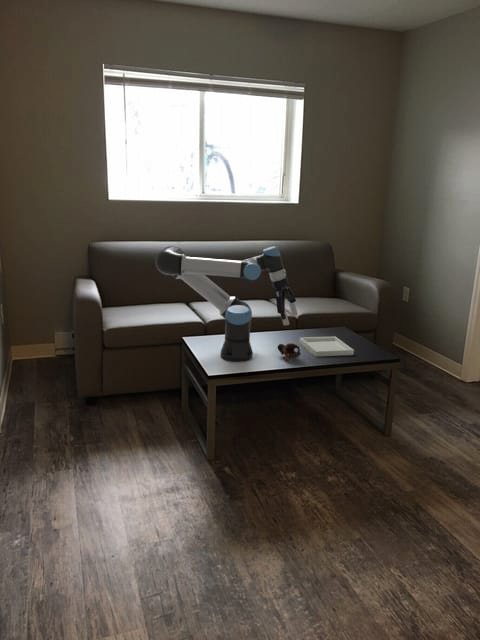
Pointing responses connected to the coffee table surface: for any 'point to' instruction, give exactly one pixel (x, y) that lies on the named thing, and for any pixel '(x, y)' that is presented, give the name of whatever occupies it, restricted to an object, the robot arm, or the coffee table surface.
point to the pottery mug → (289, 351)
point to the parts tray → (326, 346)
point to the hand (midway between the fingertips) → (291, 320)
